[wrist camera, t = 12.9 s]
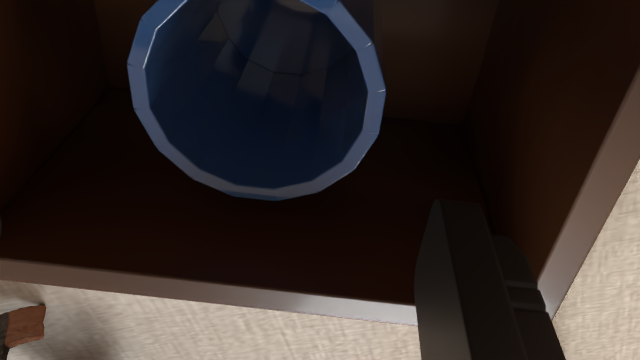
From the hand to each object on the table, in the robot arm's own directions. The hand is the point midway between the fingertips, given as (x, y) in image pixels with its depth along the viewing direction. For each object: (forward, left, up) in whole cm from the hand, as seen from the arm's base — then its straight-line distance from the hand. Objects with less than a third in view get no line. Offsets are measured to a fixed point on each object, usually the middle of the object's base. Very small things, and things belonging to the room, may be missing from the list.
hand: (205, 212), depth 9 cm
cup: (0, 0, -12) cm, 12 cm away
